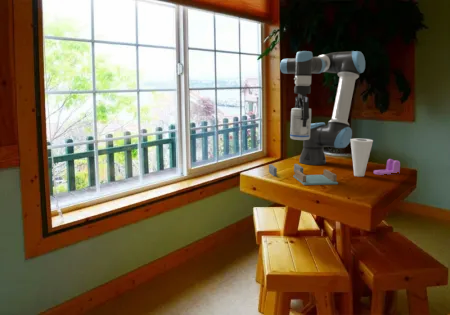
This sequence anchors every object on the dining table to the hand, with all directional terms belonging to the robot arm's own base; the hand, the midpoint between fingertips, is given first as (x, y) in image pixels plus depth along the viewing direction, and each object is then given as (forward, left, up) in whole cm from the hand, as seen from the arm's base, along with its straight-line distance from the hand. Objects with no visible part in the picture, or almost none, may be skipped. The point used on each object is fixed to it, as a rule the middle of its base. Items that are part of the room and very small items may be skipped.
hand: (300, 132), depth 188 cm
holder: (+4, -7, -22) cm, 24 cm away
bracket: (-48, -4, -22) cm, 53 cm away
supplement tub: (0, 0, -3) cm, 3 cm away
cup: (-32, 0, -22) cm, 39 cm away
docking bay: (-6, +8, -22) cm, 24 cm away
